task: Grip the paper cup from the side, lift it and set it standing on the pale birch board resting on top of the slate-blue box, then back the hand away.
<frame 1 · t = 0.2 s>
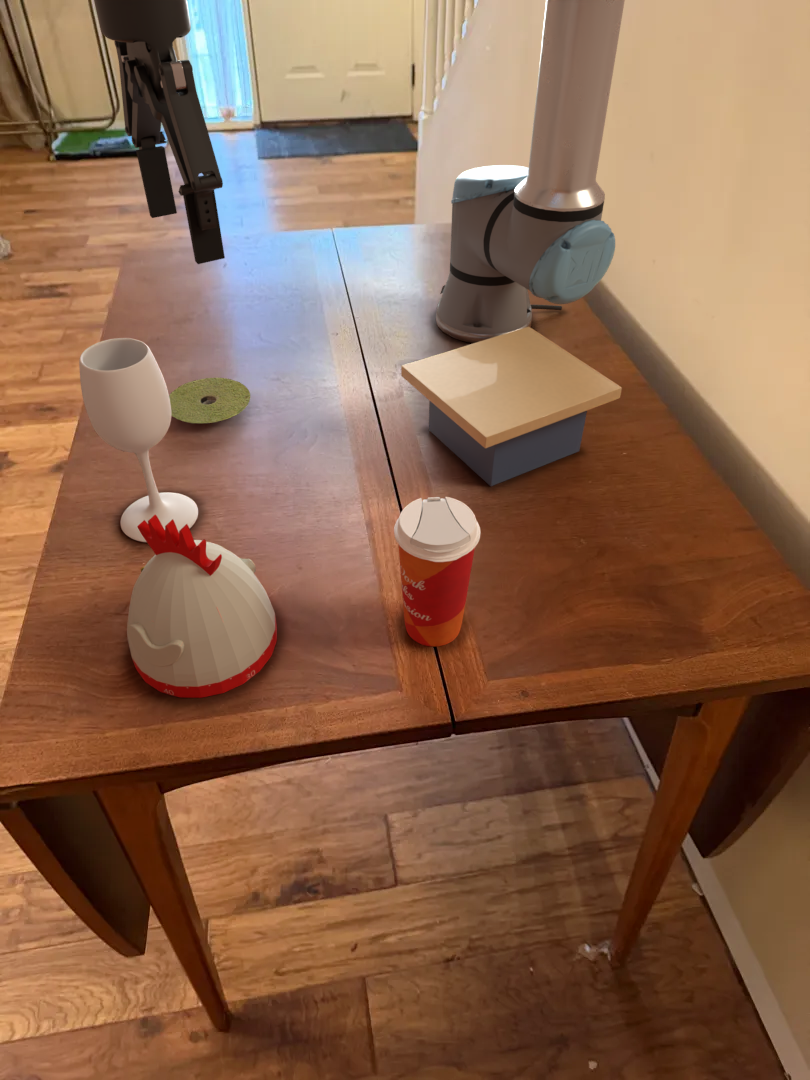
hand: (185, 236, 79), 28 cm above the table, tool pointing down, fingers open, 13 cm apart
green disc with hole: (210, 412, 106), on the table
wineglass: (160, 519, 89), on the table
kitchen timer: (206, 640, 76), on the table
stand: (502, 440, 101), on the table
paper cup: (433, 627, 78), on the table
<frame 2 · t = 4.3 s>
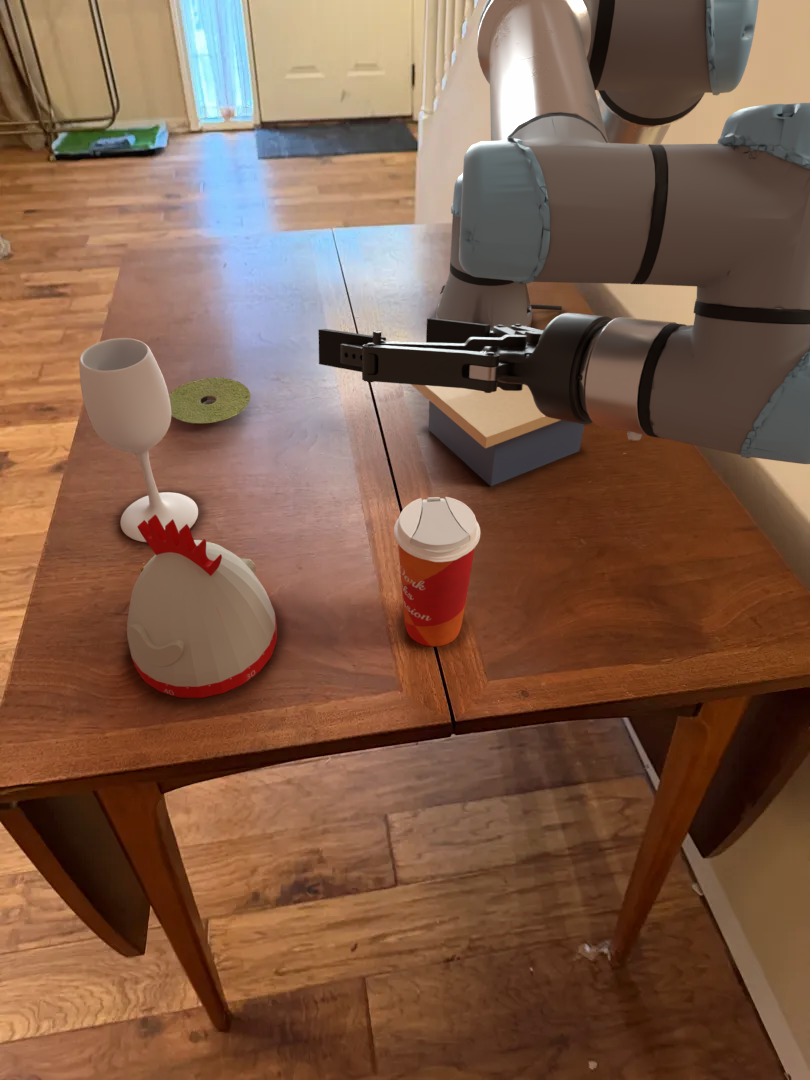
hand: (379, 339, 67), 26 cm above the table, tool horizontal, fingers open, 13 cm apart
nothing on the table moved.
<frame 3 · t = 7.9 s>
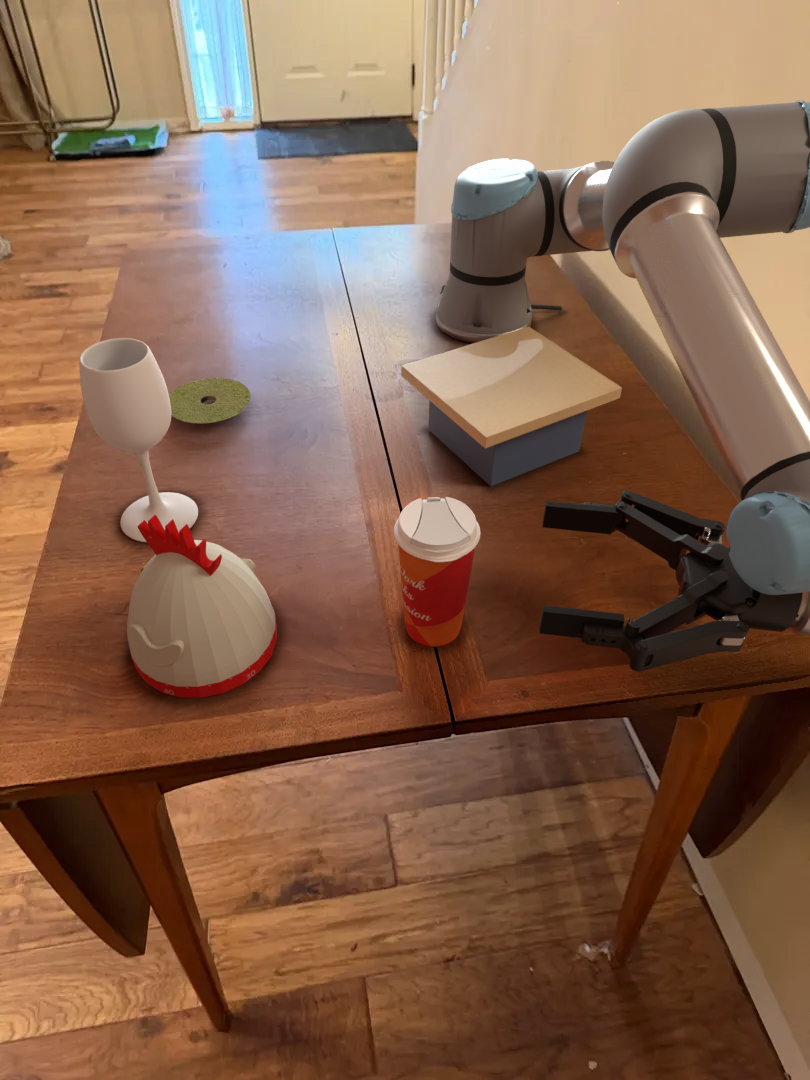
hand: (542, 563, 69), 10 cm above the table, tool horizontal, fingers open, 13 cm apart
nothing on the table moved.
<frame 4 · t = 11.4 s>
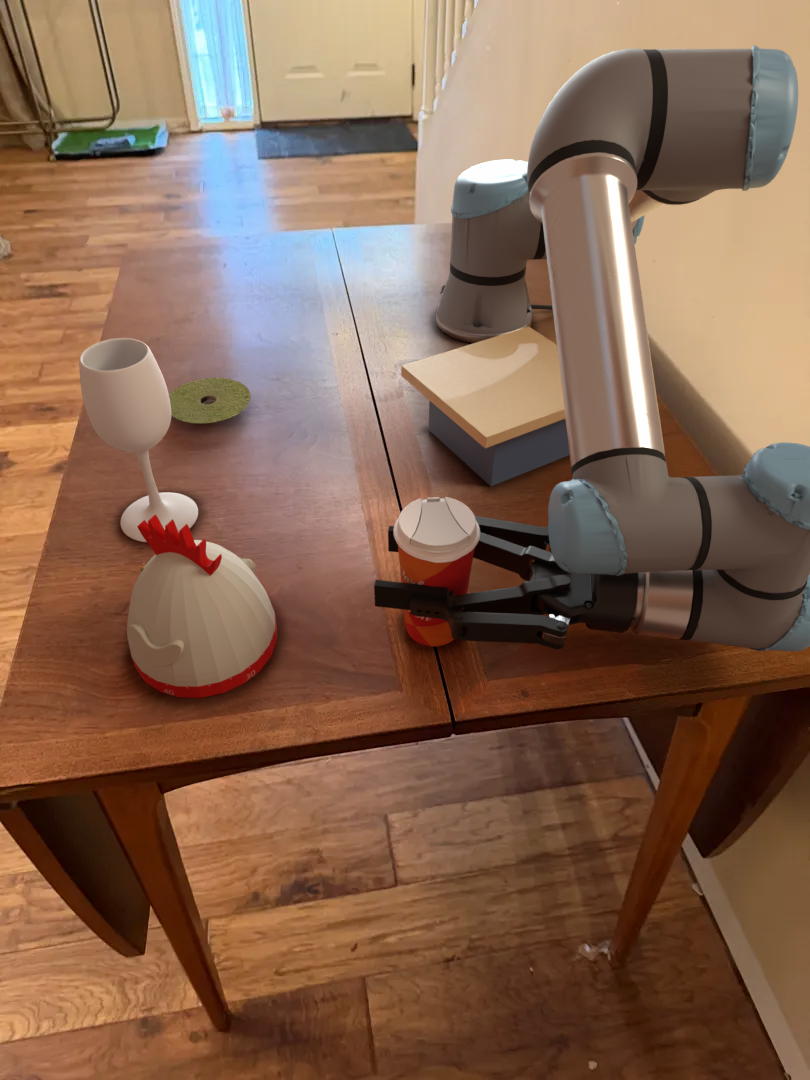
hand: (382, 564, 73), 8 cm above the table, tool horizontal, fingers closed on paper cup, 7 cm apart
paper cup: (433, 626, 78), on the table, touching gripper
everything else where it was.
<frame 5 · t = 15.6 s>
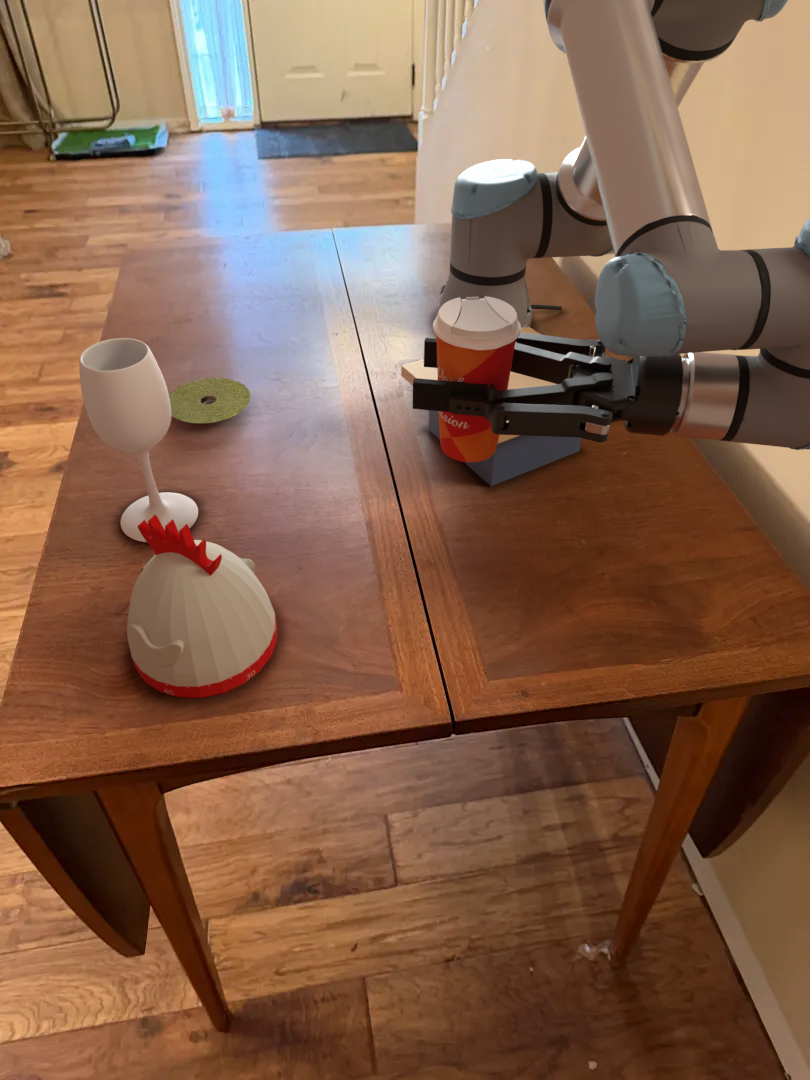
hand: (419, 372, 72), 22 cm above the table, tool horizontal, fingers closed on paper cup, 7 cm apart
paper cup: (468, 447, 76), point 14 cm above the table, touching gripper
everything else where it was.
when the fingers open (17 cm above the table, at t = 20.0 s): paper cup stays where it is, resting on stand.
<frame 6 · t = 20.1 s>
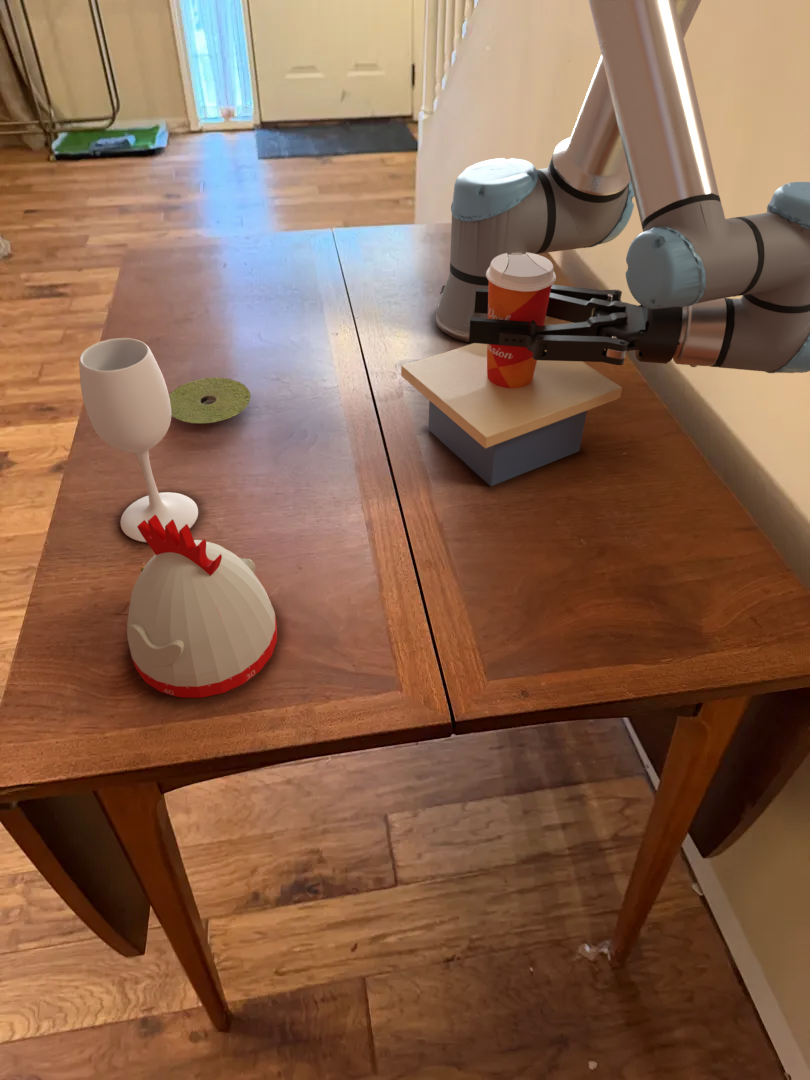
hand: (472, 315, 90), 17 cm above the table, tool horizontal, fingers open, 7 cm apart
paper cup: (509, 378, 94), point 9 cm above the table, touching stand
everything else where it was.
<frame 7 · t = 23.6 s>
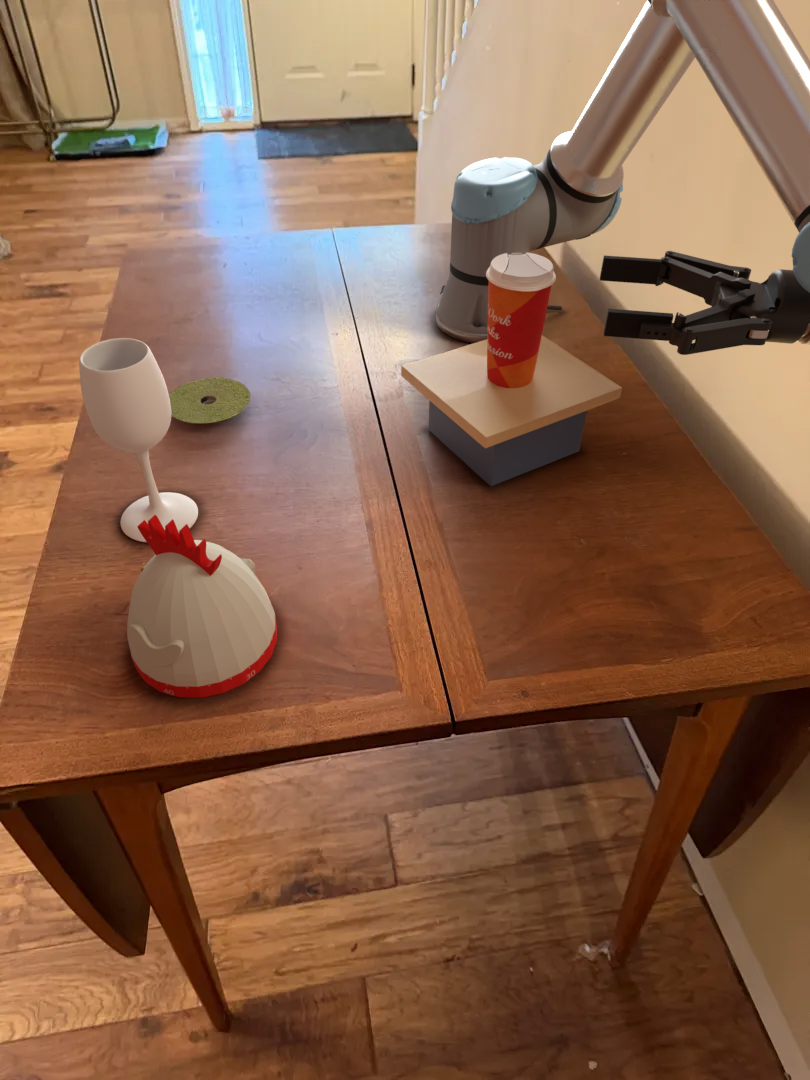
hand: (603, 293, 86), 21 cm above the table, tool horizontal, fingers open, 13 cm apart
nothing on the table moved.
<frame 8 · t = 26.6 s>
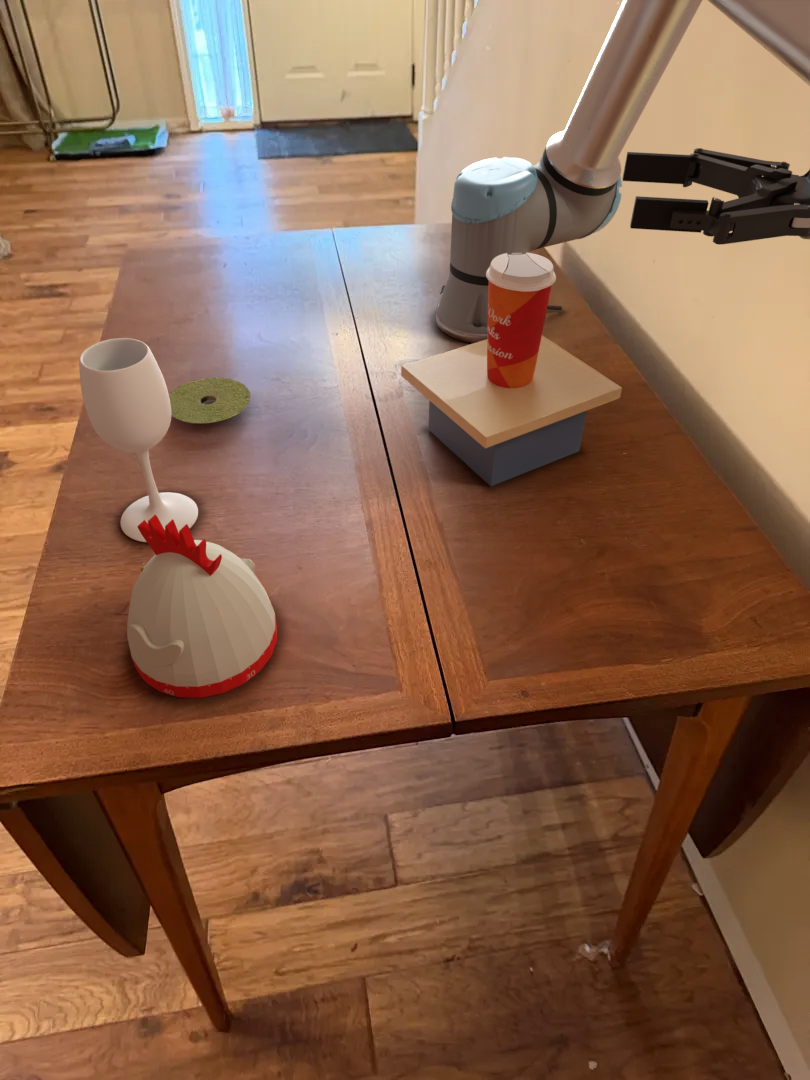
hand: (628, 188, 78), 32 cm above the table, tool horizontal, fingers open, 13 cm apart
nothing on the table moved.
at the end: paper cup inside the target area on the stand (0.1 cm from its centre), point 9.3 cm above the stand's base; paper cup tilted 0°; the gripper is holding nothing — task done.
